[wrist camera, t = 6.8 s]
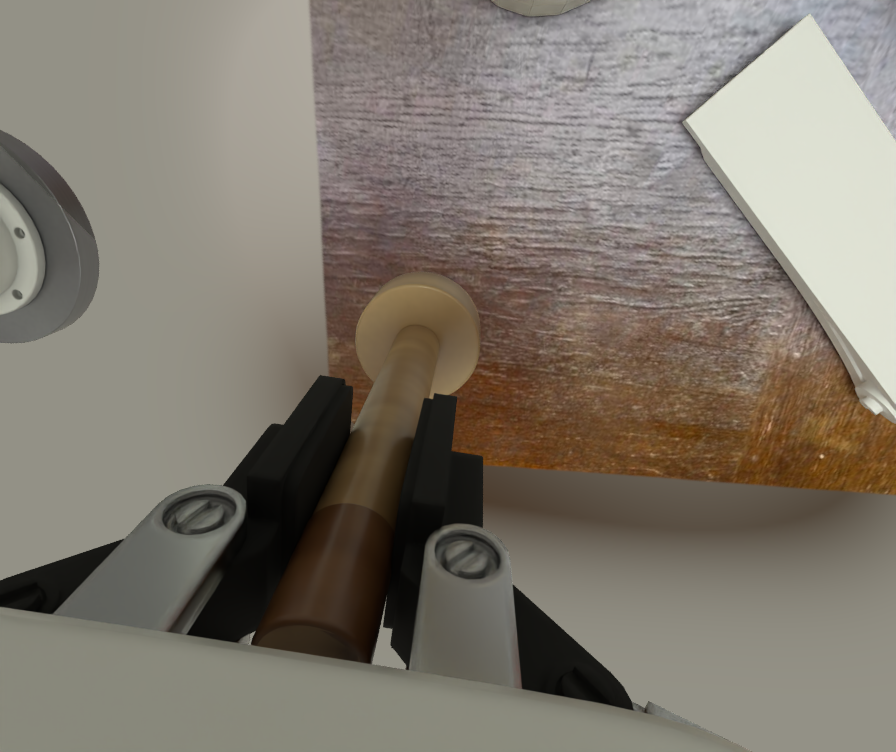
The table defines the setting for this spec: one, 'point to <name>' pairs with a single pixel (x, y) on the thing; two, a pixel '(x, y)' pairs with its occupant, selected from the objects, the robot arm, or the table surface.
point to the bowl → (539, 6)
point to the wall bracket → (816, 193)
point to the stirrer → (372, 471)
